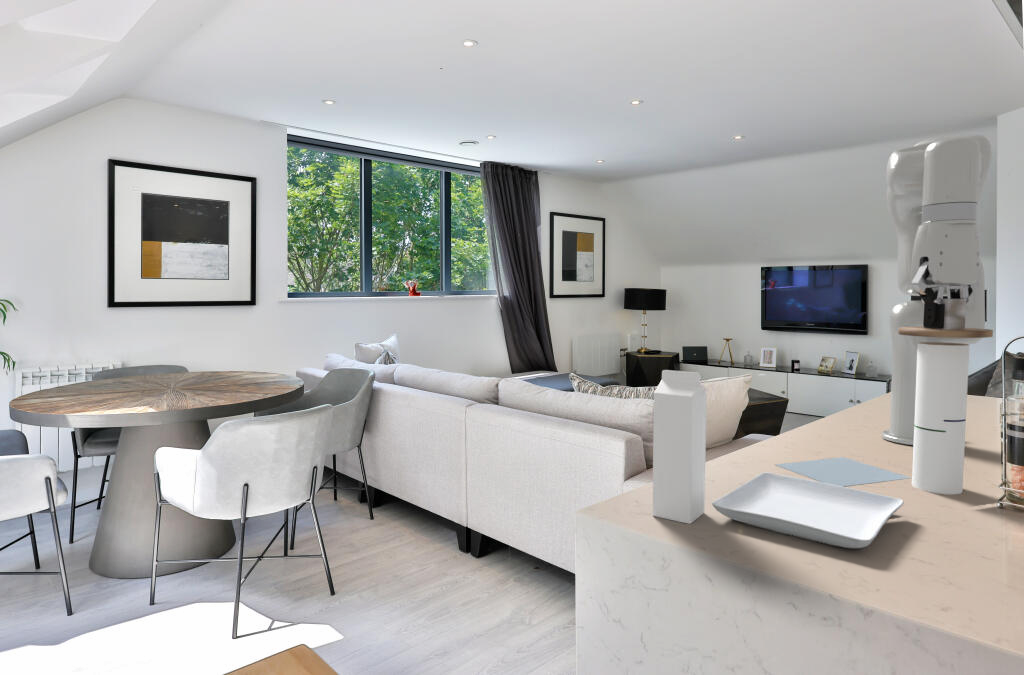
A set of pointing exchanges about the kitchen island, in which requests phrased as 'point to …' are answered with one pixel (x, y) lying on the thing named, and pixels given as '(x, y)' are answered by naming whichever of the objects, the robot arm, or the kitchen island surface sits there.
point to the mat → (842, 471)
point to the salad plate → (809, 509)
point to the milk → (679, 447)
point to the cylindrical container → (940, 417)
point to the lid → (949, 324)
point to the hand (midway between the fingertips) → (943, 326)
